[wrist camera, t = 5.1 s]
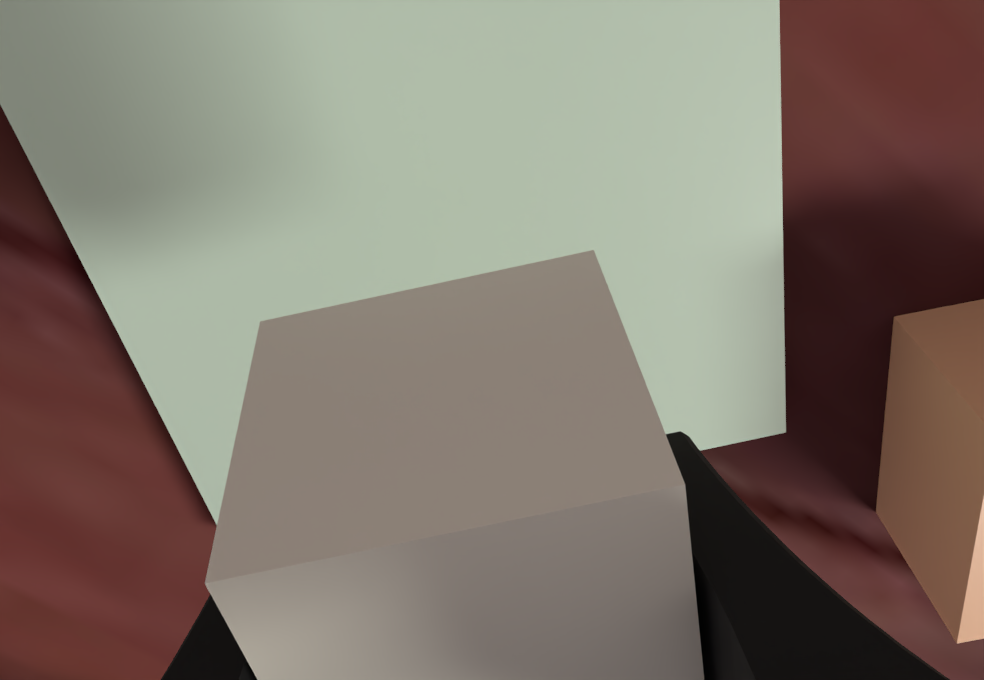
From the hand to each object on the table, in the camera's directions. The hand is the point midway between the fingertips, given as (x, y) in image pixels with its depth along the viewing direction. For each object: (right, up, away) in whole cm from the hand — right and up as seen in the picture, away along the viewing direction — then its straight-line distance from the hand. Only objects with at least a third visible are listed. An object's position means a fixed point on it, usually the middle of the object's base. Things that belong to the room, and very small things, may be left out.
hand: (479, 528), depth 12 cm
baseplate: (-1, +5, +7) cm, 8 cm away
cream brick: (0, +1, +2) cm, 2 cm away
